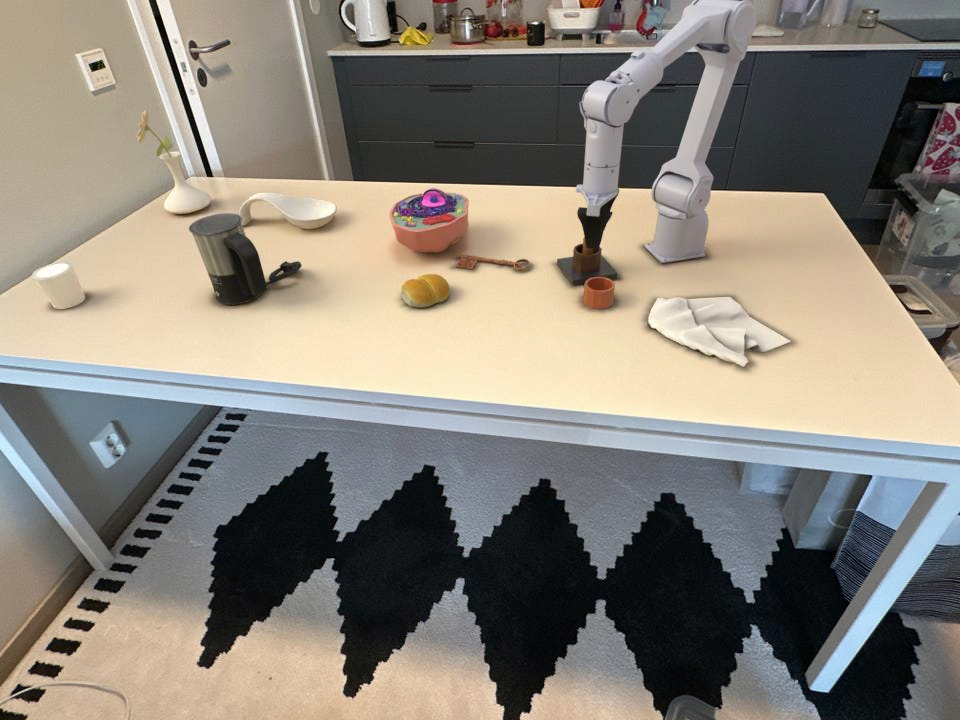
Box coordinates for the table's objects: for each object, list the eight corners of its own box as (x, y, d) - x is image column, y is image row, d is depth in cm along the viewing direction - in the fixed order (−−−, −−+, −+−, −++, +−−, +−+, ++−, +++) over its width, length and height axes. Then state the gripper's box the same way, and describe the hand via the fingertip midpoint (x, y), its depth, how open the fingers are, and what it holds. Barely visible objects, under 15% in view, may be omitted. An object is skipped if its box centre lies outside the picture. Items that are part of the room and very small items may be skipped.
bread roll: (457, 297, 109) (456, 279, 106) (415, 313, 105) (413, 294, 102) (436, 280, 114) (434, 262, 112) (395, 294, 110) (392, 276, 108)
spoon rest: (345, 214, 142) (339, 185, 137) (329, 235, 133) (323, 205, 128) (254, 213, 145) (246, 185, 141) (232, 234, 136) (223, 205, 131)
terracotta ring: (606, 291, 108) (607, 274, 105) (617, 306, 104) (619, 288, 101) (579, 296, 107) (580, 279, 105) (590, 311, 103) (591, 293, 101)
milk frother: (204, 301, 112) (176, 230, 103) (256, 263, 123) (235, 196, 114) (266, 313, 108) (242, 239, 98) (313, 272, 119) (295, 203, 110)
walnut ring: (593, 257, 116) (595, 241, 114) (604, 270, 112) (605, 253, 110) (569, 261, 115) (569, 245, 113) (578, 274, 111) (579, 257, 109)
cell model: (376, 260, 122) (367, 209, 115) (419, 221, 136) (413, 174, 129) (449, 272, 116) (445, 219, 109) (486, 230, 131) (484, 181, 124)
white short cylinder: (48, 314, 111) (29, 282, 107) (50, 298, 116) (32, 267, 111) (88, 304, 113) (71, 272, 109) (89, 288, 118) (72, 258, 114)
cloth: (641, 296, 106) (643, 284, 104) (767, 298, 103) (770, 286, 102) (655, 365, 90) (657, 352, 88) (805, 369, 87) (810, 357, 86)
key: (453, 268, 118) (523, 278, 113) (452, 264, 118) (523, 274, 113) (464, 253, 122) (532, 262, 117) (463, 249, 122) (532, 258, 117)
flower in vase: (181, 199, 155) (144, 100, 139) (221, 200, 153) (187, 99, 138) (153, 220, 144) (109, 115, 129) (195, 221, 143) (156, 114, 128)
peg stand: (598, 257, 118) (601, 225, 114) (617, 278, 111) (620, 245, 107) (556, 264, 117) (558, 232, 113) (572, 286, 110) (574, 252, 106)
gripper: (584, 146, 102) (580, 219, 110) (569, 176, 91) (566, 254, 99) (626, 148, 100) (618, 222, 108) (615, 179, 89) (607, 258, 97)
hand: (595, 238), depth 103 cm, fingers open, 7 cm apart
